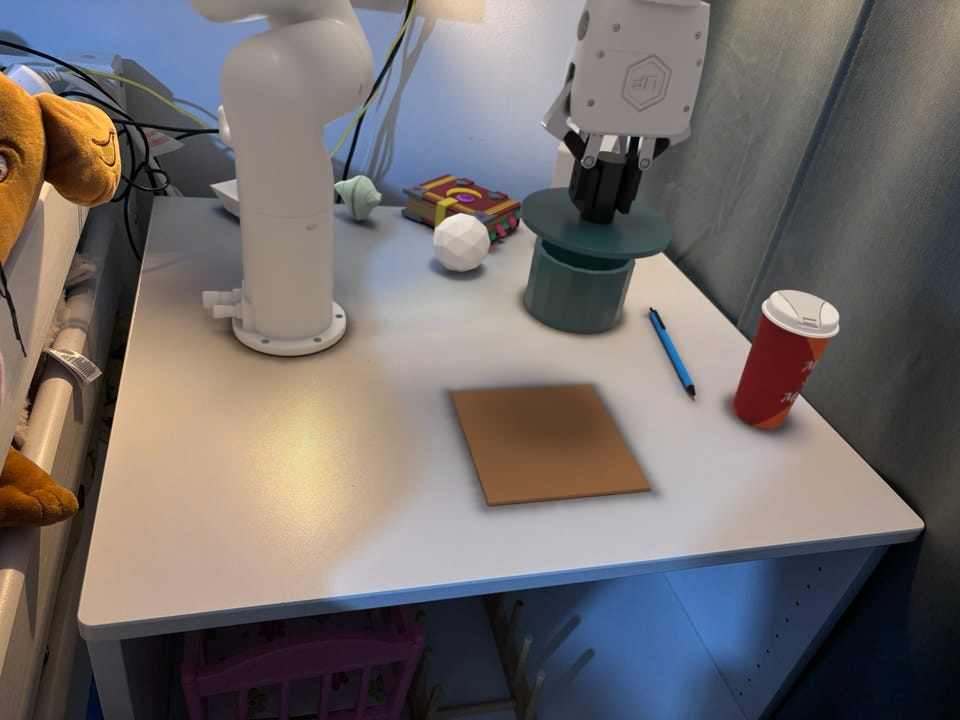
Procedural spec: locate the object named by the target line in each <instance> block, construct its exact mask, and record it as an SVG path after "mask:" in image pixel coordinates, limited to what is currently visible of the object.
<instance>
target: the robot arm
mask: <svg viewBox="0 0 960 720" xmlns="http://www.w3.org/2000/svg"><path fill="white" fill-rule="evenodd" d="M187 2H188V4H189V5H190V6H191V8H192V9H193V10H194V11H195V13H198V14H199V15H200V16H201V17H203V18H204V19H205V20H208V21H209V22H213V23H217V24H238V23H245V22H250V21H256V20H262V19H265V21H266V22H267V25H268V26H269V28H270V29H267V30H263V31H260V32H256V33H255V34H252V35H250V36H248V37H246V38H244V39H243V40H241V41H240V42H239V43H237V44H236V45H235V46H234V47H232V49H231V50H230V52H228V54H227V56H226V58H225V59H224V61H223V63H222V66H221V70H220V75H219V93H220V100H221V105H223V109H224V113H225V116H226V120H227V124H228V127H229V131H230V135H231V139H232V145H233V148H232V150H233V156H234V166H235V165H236V169H235V177H236V176H237V188H238V199H239V213H240V218H239V225H240V226H239V227H240V239H241V241H240V242H241V254H242V255H241V256H242V270H243V279H242V280H241V287H240V288H232V291H220V290H203V291H202V308H203V309H212V315H213V319H226V318H232V319H231V322H232V323H231V324H232V331H233V333H234V335H235V337H236V338H237V339H238V341H240V342H241V343H242V344H243V345H245V346H246V347H248V348H251V349H252V350H255V351H258V352H261V353H264V354H269V355H273V356H274V355H275V356H286V357H288V356H289V357H290V356H303V355H310V354H313V353H317V352H320V351H322V350H325V349H328V348H329V347H331V346H333V345H334V344H336V343H337V342H339V340H340V339H341V338H342V337H343V336H344V334H345V332H346V328H347V316H346V312H345V311H344V309H343V307H341V306H340V305H339V304H338V303H337V302H336V301H334V241H335V240H334V237H335V236H334V234H335V232H334V231H335V188H334V184H335V177H334V171H333V165H332V160H331V156H330V154H329V151H328V148H327V145H326V141H325V137H324V136H325V135H324V134H325V133H324V131H325V127H327V126H329V125H331V124H332V123H333V122H336V121H337V120H340V119H342V118H344V117H346V116H348V115H350V114H352V113H353V112H355V111H357V110H358V109H360V107H362V106H363V105H364V104H365V103H366V101H367V100H368V99H369V97H370V95H371V93H372V90H373V88H374V84H375V75H376V73H375V71H376V70H375V62H374V57H373V54H372V50H371V47H370V44H369V42H368V39H367V36H366V35H365V32H364V30H363V28H362V26H361V23H360V21H359V19H358V17H357V15H356V13H355V11H354V8H353V6H352V3H351V2H350V0H187ZM710 13H711V4H710V3H708V2H705V1H702V0H586V1H585V3H584V6H583V9H582V12H581V13H580V17H579V20H578V23H577V26H576V28H575V32H574V35H573V39H572V41H571V46H570V49H569V52H568V55H567V60H566V63H565V64H566V65H565V69H564V72H563V77H562V81H561V88H560V92H559V94H558V96H557V97H556V98H555V100H554V101H553V103H552V104H551V106H550V107H549V109H548V110H547V111H546V113H545V114H544V116H543V117H542V119H541V122H540V124H541V126H542V127H543V128H544V129H545V131H547V133H549V134H550V135H551V136H553V137H555V138H556V139H557V140H559V141H560V142H561V141H562V142H564V144H565V145H566V146H567V148H568V149H569V151H570V152H571V154H572V155H573V156H574V158H575V161H574V166H573V171H572V175H571V180H570V185H569V190H568V193H569V197H570V198H571V202H572V203H573V204H574V205H575V206H576V208H577V209H578V210H579V211H580V212H581V213H588V212H590V211H591V207H592V203H593V198H594V194H595V190H596V186H597V181H598V177H599V170H598V169H597V168H596V167H595V164H596V160H597V157H598V154H599V150H600V147H601V144H602V141H603V138H604V135H614V136H618V137H627V139H626V145H625V146H626V147H625V152H624V156H625V157H626V158H627V159H628V165H627V169H626V173H625V176H624V180H623V184H622V188H621V192H620V196H619V200H618V204H617V208H616V209H617V210H618V211H619V212H620V213H621V214H629V212H630V208H631V204H632V201H636V198H637V195H638V190H639V188H640V183H641V179H642V175H643V172H644V171H647V170H649V168H651V166H652V164H653V161H654V160H655V159H656V158H658V157H659V156H660V155H661V154H662V153H664V152H665V151H666V150H667V149H668V148H669V147H672V146H675V145H676V144H679V143H681V142H683V141H685V140H687V139H689V138H690V137H691V135H692V127H691V118H692V114H693V111H694V108H695V103H696V101H697V96H698V92H699V87H700V84H701V83H700V82H701V78H702V72H703V68H704V62H705V57H706V51H707V43H708V37H709V25H710V15H711V14H710ZM569 118H570V121H571V120H572V121H573V122H574V123H575V125H576V126H577V127H578V128H577V131H576V132H575V131H574V130H573V129H572V128H571V127H569V125H568V124H567V120H568V119H569Z"/></svg>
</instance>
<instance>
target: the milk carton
mask: <svg viewBox="0 0 960 720" xmlns="http://www.w3.org/2000/svg"><path fill="white" fill-rule="evenodd" d="M568 126H569V127H571V128H572V129H573V130H574V131H575V132H576V131H577V128H578V127H577V126H576V125H575V123H574V122H573V121H572V120H571V119H570V122H569V125H568ZM619 137H620V136H614V135H604V138H603V141H602V144H601V147H600V150H599V151H609V152H614V153H618V154H621V145H620V138H619ZM574 161H575V158H574V156H573V155H572V154H571V152H570V151H569V149H568V148H567V146H566V145H565V144H564V142H562V141H561V140H560V143H559V146H558V148H557V152H556V157H555V161H554V167H553V173H552V178H551V183H550V187H549V188H560V187H569V185H570V180H571V175H572V171H573V166H574Z"/></svg>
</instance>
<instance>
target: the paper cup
mask: <svg viewBox="0 0 960 720" xmlns="http://www.w3.org/2000/svg"><path fill="white" fill-rule="evenodd" d="M761 311H762V313H761V317H760V320H759V323H758V325H757V329H756V331H755V334H754V337H753V340H752V343H751V346H750V349H749V352H748V355H747V358H746V361H745V364H744V366H743V370H742V373H741V376H740V379H739V382H738V385H737V388H736V391H735V394H734V397H733V401H732V410H733V412H734V414H735V415H736V416H737V417H738V418H739V419H740V420H741V421H743V422H744V423H746V424H748V425H750V426H752V427H755V428H760V429H765V430H773V429H776V428H779V427H780V426H781V425H782V423H783V422H784V421H785V419H786V417H787V416H788V414H789V412H790V411H791V409H792V407H793V406H794V404H795V402H796V400H797V398H798V397H799V395H800V394H801V391H802V390H803V388H804V386H805V385H806V383H807V382H808V380H809V378H810V377H811V374H812V372H813V370H814V369H815V367H816V366H817V364H818V362H819V361H820V358H821V356H822V354H824V351H825V350H826V347H827V346H828V344H829V343H830V340H831V339H832V337H835V336H836V335H837V334H838V333H839V332H840V324H839V321H840V313H839V312H838V310H837V309H836V308H835V307H834V306H833V305H832V304H831V303H829V302H827V301H826V300H824V299H822V298H820V297H818V296H816V295H814V294H811V293H808V292H803V291H800V290H795V289H794V290H793V289H783V290H776V291H774V292H773V293H771V294H770V296H769V298H767V299H766V300H764V301H763V302H762V304H761Z"/></svg>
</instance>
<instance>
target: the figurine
mask: <svg viewBox="0 0 960 720" xmlns="http://www.w3.org/2000/svg"><path fill="white" fill-rule="evenodd" d="M217 123H218V124H217V125H218V132H219V138H220V140H221V142H222V143H223V145H225V146H227V147H229V148H231V149H233V145H232V139H231V135H230V131H229V127H228V124H227V120H226V116H225V113H224V109H223V105H222V104H221V105H219V106H218V107H217ZM234 166H235V170H236V165H235V164H234ZM209 186H210V188H211V189H212V191H213V192H214V193H215V195H216V196H217V198H218V199H219V201H220V203H221V204H222V206H223V207H224V209H225V210H226V211H227V212H229V213H231V214H233V215H234V216H236V218H239V219H240V213H239V199H238V188H237V176H236V175H235V179H231V180H227V181H222V182H218V183H213V184H209Z"/></svg>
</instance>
